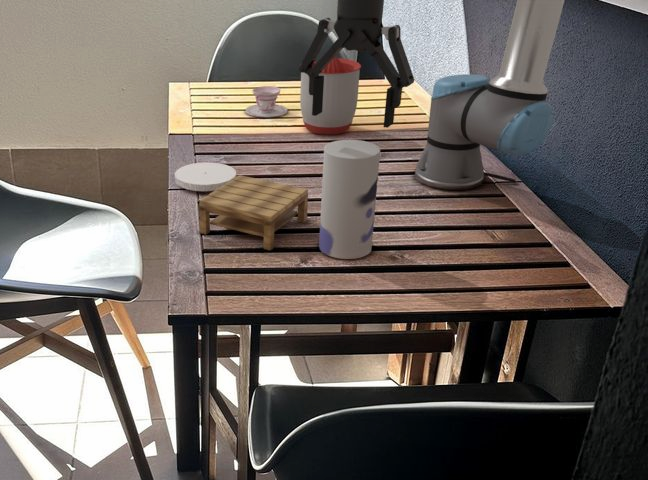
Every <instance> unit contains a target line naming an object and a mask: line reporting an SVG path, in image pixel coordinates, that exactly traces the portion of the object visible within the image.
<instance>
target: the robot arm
mask: <svg viewBox="0 0 648 480" xmlns="http://www.w3.org/2000/svg"><path fill="white" fill-rule="evenodd" d="M384 4H385V0H337V7H336V20H331V18H330V17H325V18H323V19H320V20H318V23H317V31H316V34H315V36H314V38H313V40H312V42H311V44H310V46H309V48H308V50H307V52H306V54H305V56H304V58H303V60H302V61H301V63H302V64H301V63H300V65H301V66H299V68H298V69H299V72H300V73H301V72H302V73H303V72H304V73H306V74H307V75H308V76H309V95H313V104H312V115H313V116H316V115H318V114H320V113H322V107H323V89H324V76H322V75H320V76H319V74H321V72H322V71H323V69H324V68H325V67H326V66H327V65H328V64H329V63H330V62H331V61H332V60H333V58H334V57H335V56H336V57H337V56H338V54H339V53H340V52H342V50H343V49H345V50H346V51H351V52H352V51H357V52H359V53H364V52H366V51H367V53H368V54H369V55H370V56H371V57H372V58H373V60H374V62H375V63H376V65H377V66H378V68H379V70H380V71H381V72H382V74H383V75H384V77H385V79H386V81H387V82H388V83H389V85H390V87H388V88H387V89H386V96H385V97H386V98H385V106H384V107H385V108H384V115H383V116H384V118H383V128H389V127H391V126H392V125H393V124H394V122H395V121H394V120H395V113H396V112H395V111H396V109H397V108H399V107H400V105H401V104H402V94H403V88H408V87H410V86H411V85H412V84H414V82H415V78H414V74H413V71H412V68H411V65H410V62H409V59H408V57H407V54H406V51H405V48H404V45H403V41H402V40H401V32H402V31H401V30H402V29H401V25H399V24H394V25H393V26H384V25H383V16H384V6H385V5H384ZM564 4H565V0H516V3H515V9H514V13H513V16H512V20H511V24H510V28H509V31H508V32H509V33H508V37H507V40H506V45H505V49H504V53H503V57H502V61H501V65H500V68H499V73H498V75H497V76H495V77H494V78H492V79H490V77H489V76H487V75H484V74H473V73H471V74H470V73H469V74H466V73H465V74H456V75H454V74H453V75H447V76H443V77H440V78H439V79H437V80H436V81H435V82H434V85H433V88H432V95H431V97H430V109H429V116H428V117H429V118H428V129H427V138H426V143H425V145H424V146H425V147H424V148H423V151H422V153H421V155H420V157H419V159H418V161H417V163H416V166H415V170H414V177H415V179H416V180H417V182H419V183H421V184H422V185H425V186H428V187H431V188H434V189H439V190H445V191H465V190H470V189H474V188H477V187H479V186H481V185H483V182H484V178H485V177H489V178H494V179H498V180H502V181H507V182H510V183H513V184H515V183H516V182H517V181H516V180H517V179H515V178H511V177H508V176H503V175H499V174H496V173H495V174H494V173H491V172H485V169H484V164H483V158H482V154H481V153H482V152H481V146H483V147H486V148H489V149H492V150H495V151H498V152H499V153H500V154H504V155H505V154H507V155H510V156H514V157H523V156H527V155H529V154H531V153H532V152H534V151H535V150H536V149H537V148H538V147H539V146H540V145H542V143H543V142H544V140H545V139H546V137H547V136H548V134H549V132H550V130H551V128H552V125H553V123H554V113H553V110H554V109H553V107H552V105H551V104H549V103H548V102H546V101H547V97H548V92H549V89H548V88H547V86H546V85H545V83H544V77H545V74H546V71H547V66H548V62H549V59H550V56H551V52H552V48H553V44H554V41H555V38H556V34H557V29H558V26H559V23H560V19H561V15H562V11H563V7H564ZM333 30H334V32H335V34H336V36H337V39H335V41H334V42H333V44H331V46H330V47H329V48H328V49H327V51H326V52H325V53H324V54H323V56H321V58H319V60H318V61H317V62H316V60H317V58H318V56H319V54H320V52H321V50H322V48H323V46H324V44H325V42H326V41H327V38H328V36H329V34H331V33H332V31H333ZM382 36H384V37H385V40H386V41H388V42H387V43H388V46H389V50H390V53H391V56H392V58H393V61H394V63H393V62H392V60H391V59H390V56H388V54H387V53H386V51H385V48H384V45H383V44H382V43H381V41H380V38H381V37H382ZM314 62H316V65H315V66H314V67H313V66H312V65H313V63H314ZM394 64H395V65H394Z"/></svg>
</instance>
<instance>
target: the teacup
mask: <svg viewBox="0 0 648 480" xmlns="http://www.w3.org/2000/svg"><path fill="white" fill-rule="evenodd" d="M252 94H253V95H254V96H255V102H256V104H252V105H250V106H248V107H246V108H245V113H246V114H248V115H249V116H252V117H257V118H275V117H282V116H284V115H286V114H287V113H288V108H287V107H286V106H283V105H280V104H277V103H276V101H277V99H278V96H279V95H280V94H281V88H280V87H277V86H274V85H273V86H272V85H265V86H258V87H255V88H253V89H252Z"/></svg>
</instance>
